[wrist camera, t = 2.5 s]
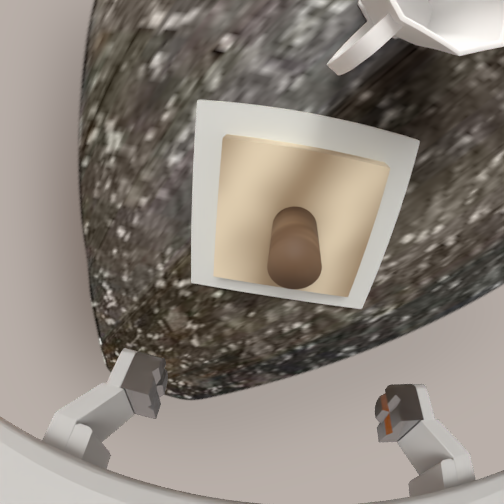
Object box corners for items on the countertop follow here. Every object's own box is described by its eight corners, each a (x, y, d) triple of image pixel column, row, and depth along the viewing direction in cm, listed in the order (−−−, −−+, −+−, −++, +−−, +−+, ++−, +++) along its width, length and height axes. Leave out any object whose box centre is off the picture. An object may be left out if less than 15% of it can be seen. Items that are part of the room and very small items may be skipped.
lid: (385, 162, 18) (416, 197, 13) (346, 287, 23) (355, 342, 18) (226, 134, 18) (201, 159, 13) (216, 266, 24) (197, 319, 19)
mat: (417, 139, 17) (420, 141, 17) (360, 305, 25) (361, 309, 24) (199, 99, 17) (197, 100, 17) (193, 278, 25) (191, 282, 25)
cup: (460, 22, 12) (536, 12, 5) (366, 110, 17) (413, 138, 10) (380, -56, 10) (424, -108, 3) (278, 34, 15) (270, 5, 8)
